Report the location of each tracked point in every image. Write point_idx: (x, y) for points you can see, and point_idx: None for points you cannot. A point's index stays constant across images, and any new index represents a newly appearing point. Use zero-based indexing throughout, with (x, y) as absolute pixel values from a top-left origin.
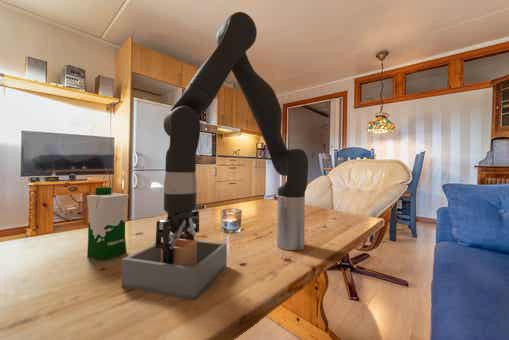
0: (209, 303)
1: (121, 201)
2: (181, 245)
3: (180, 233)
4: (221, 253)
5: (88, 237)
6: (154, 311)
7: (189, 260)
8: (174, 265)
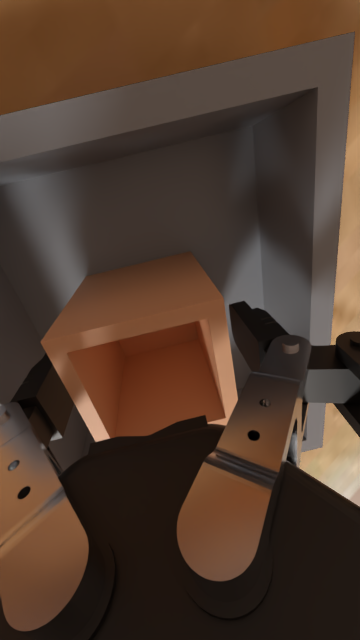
0: (259, 9)
1: None
2: (107, 398)
3: (242, 402)
4: None
5: None
6: (351, 196)
7: (144, 280)
8: (324, 229)
